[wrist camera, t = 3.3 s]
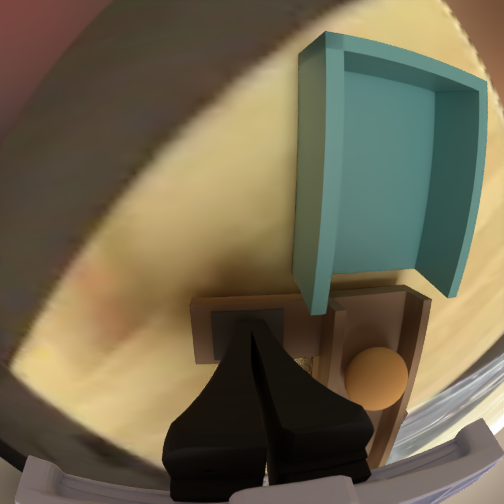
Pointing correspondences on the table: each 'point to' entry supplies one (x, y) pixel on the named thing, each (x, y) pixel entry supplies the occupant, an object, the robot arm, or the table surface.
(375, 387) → the ball
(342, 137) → the teal open-ended tray
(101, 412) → the table surface
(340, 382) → the lever
